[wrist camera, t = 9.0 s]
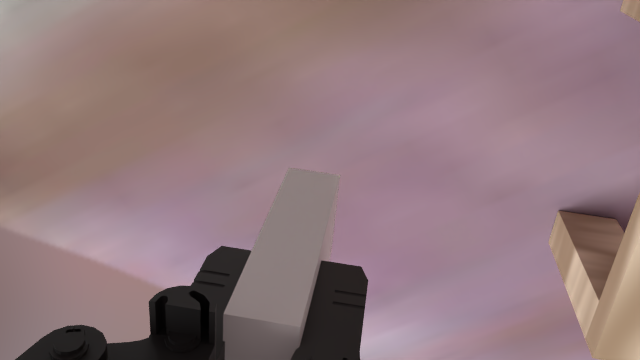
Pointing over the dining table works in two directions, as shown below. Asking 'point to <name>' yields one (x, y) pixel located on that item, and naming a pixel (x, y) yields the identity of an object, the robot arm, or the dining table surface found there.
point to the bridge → (603, 272)
